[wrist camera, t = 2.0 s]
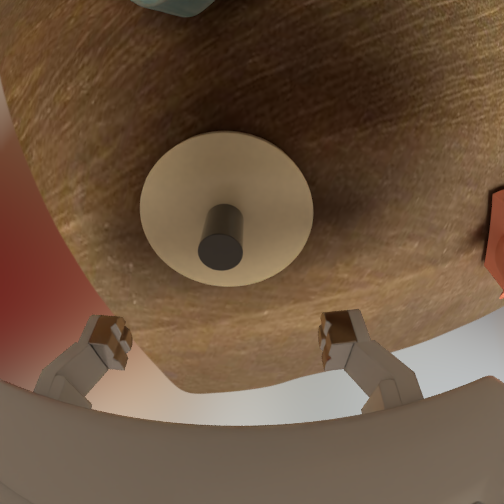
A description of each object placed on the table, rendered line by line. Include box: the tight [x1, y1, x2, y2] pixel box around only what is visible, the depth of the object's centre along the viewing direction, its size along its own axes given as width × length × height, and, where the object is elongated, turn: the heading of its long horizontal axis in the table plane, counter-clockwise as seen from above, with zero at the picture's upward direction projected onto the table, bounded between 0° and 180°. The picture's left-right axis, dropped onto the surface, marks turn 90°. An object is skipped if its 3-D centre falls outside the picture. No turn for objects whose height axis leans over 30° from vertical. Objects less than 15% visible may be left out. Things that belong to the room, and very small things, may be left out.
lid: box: [140, 131, 313, 287], centre depth 17 cm, size 11×11×5 cm
